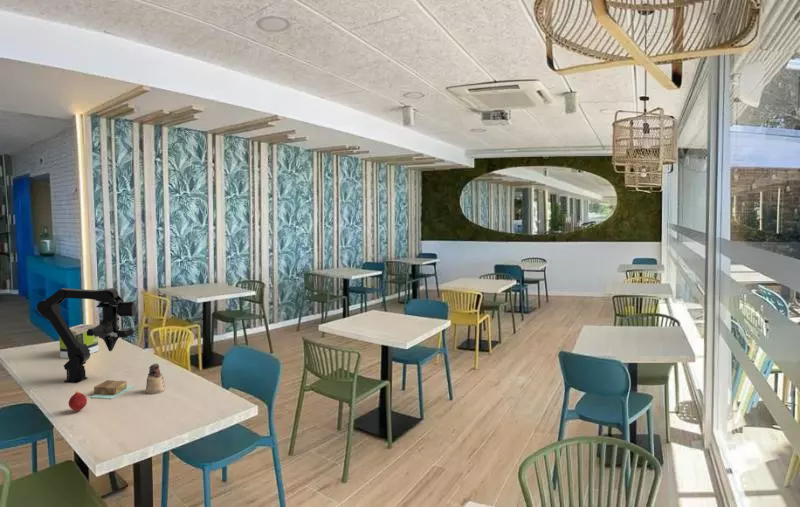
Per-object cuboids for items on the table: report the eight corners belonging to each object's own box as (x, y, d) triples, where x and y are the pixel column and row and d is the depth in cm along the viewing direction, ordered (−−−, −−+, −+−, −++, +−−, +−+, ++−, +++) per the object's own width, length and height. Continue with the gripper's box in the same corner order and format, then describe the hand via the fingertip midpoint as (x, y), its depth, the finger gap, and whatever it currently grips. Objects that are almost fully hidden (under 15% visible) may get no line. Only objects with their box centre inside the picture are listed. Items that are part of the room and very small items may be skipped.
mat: (90, 397, 199) (90, 396, 199) (113, 385, 212) (113, 385, 212) (111, 399, 198) (111, 398, 198) (133, 387, 212) (133, 386, 212)
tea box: (82, 350, 265) (81, 323, 264) (99, 351, 263) (98, 324, 262) (59, 358, 250) (58, 329, 249) (76, 359, 249) (76, 331, 247)
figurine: (161, 387, 213) (161, 360, 212) (167, 391, 208) (166, 363, 207) (143, 390, 208) (143, 363, 207) (149, 395, 203) (148, 367, 202)
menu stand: (94, 386, 201) (114, 387, 201) (107, 380, 209) (126, 381, 208) (94, 394, 202) (114, 395, 201) (107, 387, 210) (127, 388, 209)
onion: (90, 409, 187) (90, 389, 186) (76, 415, 182) (75, 394, 181) (79, 407, 189) (79, 387, 188) (65, 413, 183) (64, 392, 183)
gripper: (76, 319, 212) (77, 354, 213) (117, 321, 210) (118, 357, 211) (95, 314, 223) (96, 348, 224) (133, 316, 221) (134, 350, 222)
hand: (110, 350), depth 220 cm, fingers closed
